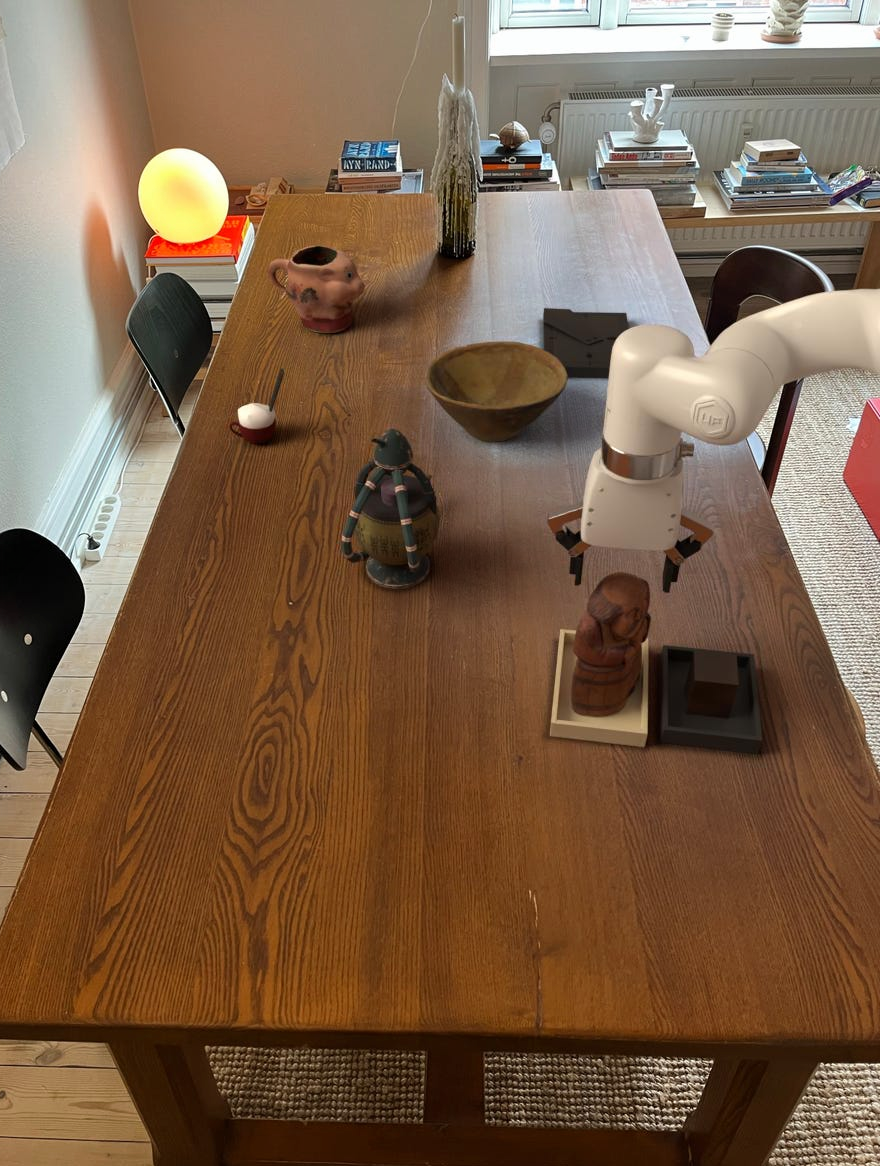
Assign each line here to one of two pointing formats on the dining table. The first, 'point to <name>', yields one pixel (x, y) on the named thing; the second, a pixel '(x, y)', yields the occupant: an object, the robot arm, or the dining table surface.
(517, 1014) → the dining table surface
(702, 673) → the walnut block
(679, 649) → the dark tray
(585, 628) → the wooden figurine
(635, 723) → the pale tray
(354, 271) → the sculpted clay mug
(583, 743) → the dining table surface
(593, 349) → the dark brown flat slab
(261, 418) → the cocoa
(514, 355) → the bowl
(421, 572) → the green octopus jar
